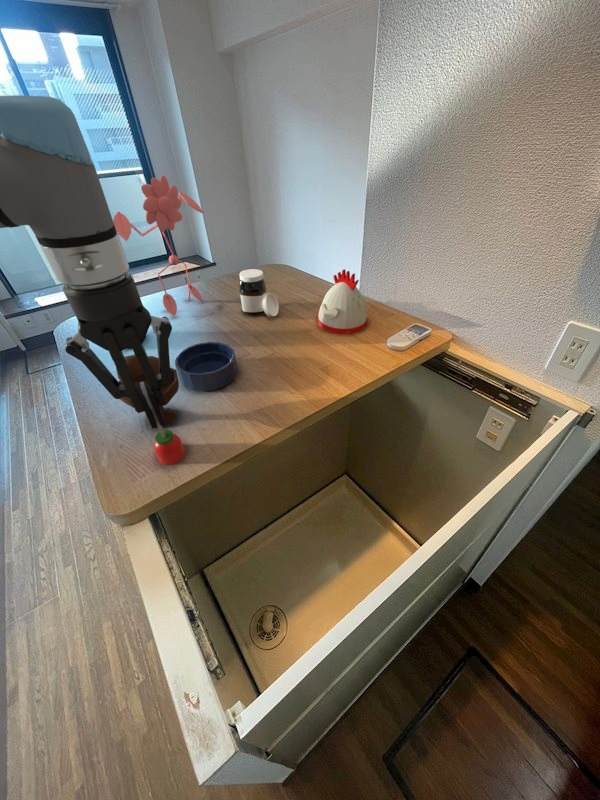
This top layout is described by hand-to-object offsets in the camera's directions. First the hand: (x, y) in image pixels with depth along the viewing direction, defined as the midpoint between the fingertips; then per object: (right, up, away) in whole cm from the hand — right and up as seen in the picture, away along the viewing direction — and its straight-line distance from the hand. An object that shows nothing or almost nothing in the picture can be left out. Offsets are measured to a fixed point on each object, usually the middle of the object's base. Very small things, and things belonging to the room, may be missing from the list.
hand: (157, 421), depth 53 cm
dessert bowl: (+2, +9, +24) cm, 25 cm away
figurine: (-11, +31, +49) cm, 59 cm away
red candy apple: (0, -6, +6) cm, 8 cm away
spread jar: (+11, +31, +48) cm, 58 cm away
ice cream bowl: (-5, 0, +13) cm, 14 cm away
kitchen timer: (+36, +26, +42) cm, 61 cm away
